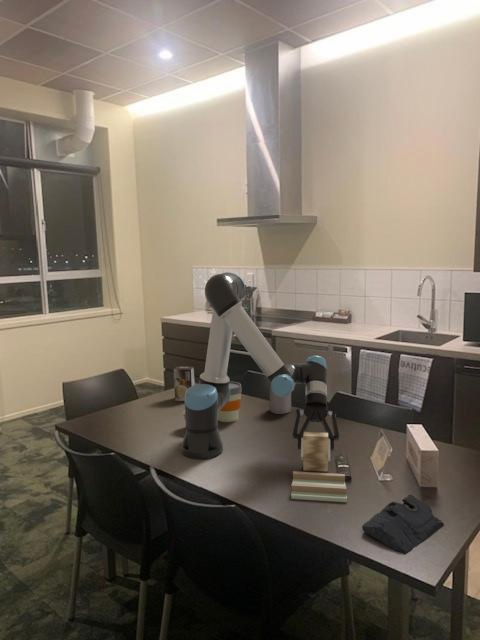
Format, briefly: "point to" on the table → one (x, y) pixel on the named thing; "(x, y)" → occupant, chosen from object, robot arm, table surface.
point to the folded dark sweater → (403, 524)
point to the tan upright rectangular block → (315, 451)
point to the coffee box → (183, 381)
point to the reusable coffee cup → (231, 404)
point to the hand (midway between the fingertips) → (315, 458)
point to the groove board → (319, 486)
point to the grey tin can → (279, 403)
